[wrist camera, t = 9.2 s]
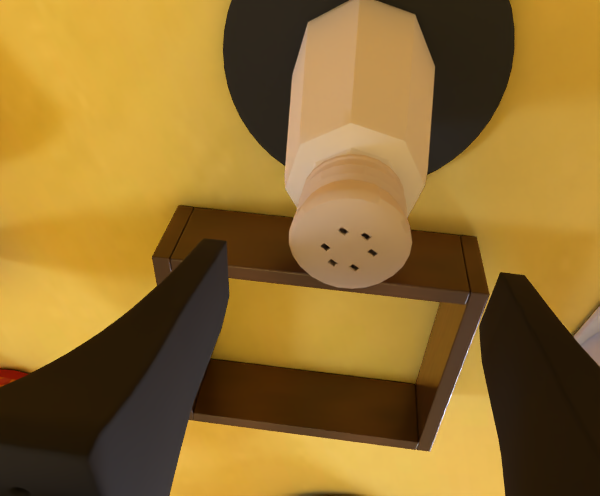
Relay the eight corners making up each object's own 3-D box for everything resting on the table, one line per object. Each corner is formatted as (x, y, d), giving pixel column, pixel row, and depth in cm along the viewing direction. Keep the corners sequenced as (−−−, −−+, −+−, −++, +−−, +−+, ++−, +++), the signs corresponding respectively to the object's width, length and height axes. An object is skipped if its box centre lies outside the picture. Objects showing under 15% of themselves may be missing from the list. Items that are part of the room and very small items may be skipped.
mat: (572, -53, 18) (576, -50, 17) (443, 208, 25) (444, 215, 24) (248, -145, 17) (245, -144, 17) (211, 149, 24) (208, 155, 24)
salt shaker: (364, 157, 23) (355, 360, 14) (264, 74, 21) (186, 250, 13) (465, 63, 20) (528, 248, 11) (359, -43, 18) (339, 85, 10)
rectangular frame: (477, 236, 25) (490, 294, 22) (425, 393, 33) (430, 452, 30) (178, 205, 26) (151, 256, 23) (198, 365, 34) (180, 419, 31)
